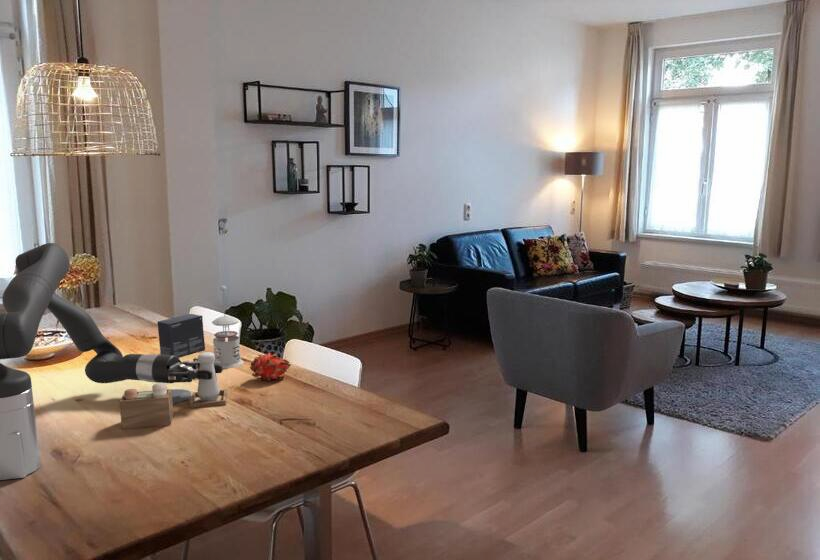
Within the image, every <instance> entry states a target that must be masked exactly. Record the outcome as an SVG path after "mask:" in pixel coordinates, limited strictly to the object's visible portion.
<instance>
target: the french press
mask: <svg viewBox="0 0 820 560" xmlns="http://www.w3.org/2000/svg"><path fill="white" fill-rule="evenodd" d="M219 289H220V290H221V291H222V295H223V297H222V299H223V301H225V293H224V292H225V291H224V290H227V287H226V285H221V286H220V288H219ZM225 307H226V306H225V303H223V313H224V315H223V316H222V315H221V316H219V317H216V318H215V319H214V320H212V321H211V324H212V325H214V326H216V327H217V326H219V327H222V330H223V331H218V332H216V333H214V335H213V336H214V338H213V339H212V340H213V341H212V342H213V354H214V355H215V361H214V362H213V364H218V365H222V369H233V368H237V367H240V366H242V365H243V364H244V360H243V359H241V347H240V346H241V345H240V337H239V336H237V335H239V334H238V331H235V330H230V326H233V325H236V324H238V323H239V321H240V320H239V319H238V318H236V317H233V316H229V315H226V308H225ZM227 328H228V330H227ZM226 339H227V341H226Z"/></svg>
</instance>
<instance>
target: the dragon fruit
mask: <svg viewBox="0 0 820 560" xmlns="http://www.w3.org/2000/svg"><path fill="white" fill-rule="evenodd" d="M253 359H254V360H252V361H251V362H250V367H249V368H250V370H251V372H252V374H251V376H252V377H254V378H258V377H260V380H261V381H264V380H266V381H268V382H270V381H271V380H275V379H276V380H282V379H283V378H284V374H285V373H287V371H288V369H289V368H290V367H291V365H292V364H291V363H290V361H289V360H288V359H285V358H283V357H279V356H278V354H277V353H274V352H273V354H271V353H270V352H268V353H264V355H262V354H261V353H260V354H258V355H257V357H256V356H255V358H253Z"/></svg>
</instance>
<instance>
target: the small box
mask: <svg viewBox="0 0 820 560" xmlns="http://www.w3.org/2000/svg"><path fill="white" fill-rule="evenodd" d="M203 322H204V321H203V315H199V314H193V313H187V314H183V315H179V316H175V317H171V318H166V319H163V320H159V321H157V323H156V324H157V331H158V343H159V351H160V353H159V354H160V355H175V356H177V357H178V358H179V359H180V358H183V357H186V356H188V355H192V354H195V353H199V352H201V351H204V350H206V344H205V335H204V333H205V332H204V323H203Z"/></svg>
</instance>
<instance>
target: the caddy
mask: <svg viewBox="0 0 820 560" xmlns="http://www.w3.org/2000/svg"><path fill="white" fill-rule="evenodd" d="M151 387H152V390H146V391H145V390H143V391H138V390H137V389H136V388H131V389H126V390H124V393H123V394H122V396H121V398H120V400H119V411H120V412H119V413H120V422H121V430H130V429H140V428H141V429H142V428H149V427H151V428H152V427H161V426H162V427H163V426H170V425H172V421H173V418H174V404H173V402H172V390H173V389H172V388H171V389H170V388H169V389H167V387H168V386H167V383H155V384H153V385H152V386H151Z"/></svg>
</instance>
